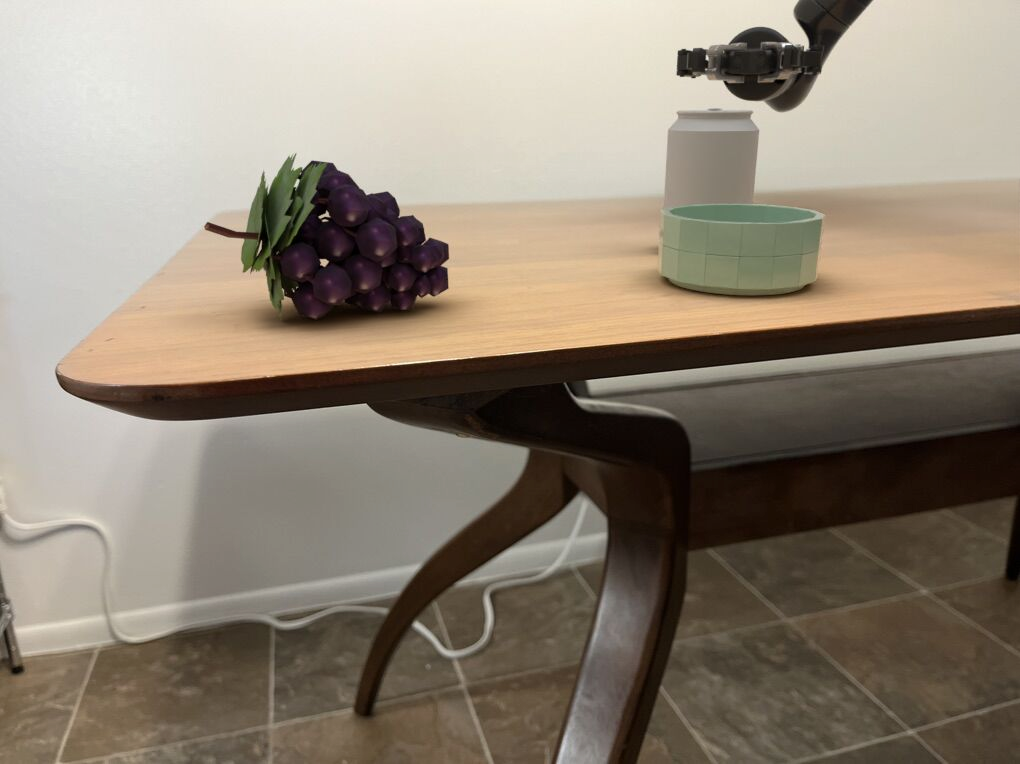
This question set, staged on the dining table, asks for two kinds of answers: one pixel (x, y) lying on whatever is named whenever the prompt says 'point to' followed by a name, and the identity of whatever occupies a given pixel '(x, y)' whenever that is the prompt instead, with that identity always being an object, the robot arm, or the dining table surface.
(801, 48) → the robot arm
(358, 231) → the fruit
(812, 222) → the bowl
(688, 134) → the can
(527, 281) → the dining table surface
